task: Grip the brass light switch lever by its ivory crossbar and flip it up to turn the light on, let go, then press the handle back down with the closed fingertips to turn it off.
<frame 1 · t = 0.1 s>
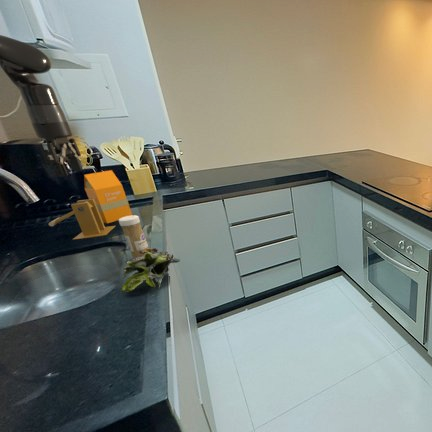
hand: (70, 173, 95), 24 cm above the counter, tool pointing down, fingers open, 8 cm apart
switch lever: (71, 213, 102), point 9 cm above the counter, hinge at -25.0°
passion flower: (156, 284, 78), on the counter
orange juice: (116, 220, 120), on the counter
sprinkles bottle: (142, 258, 91), on the counter
wooden slotted stand: (96, 235, 107), on the counter
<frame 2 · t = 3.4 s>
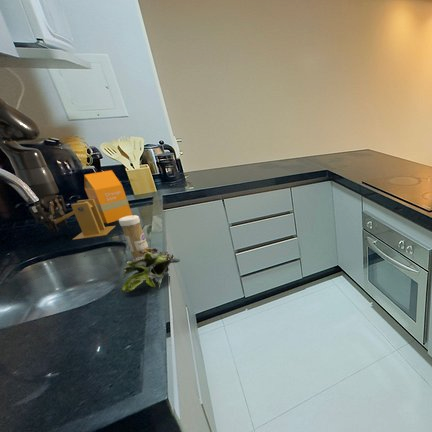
hand: (58, 228, 102), 4 cm above the counter, tool pointing down, fingers closed on switch lever, 5 cm apart
switch lever: (71, 213, 102), point 9 cm above the counter, hinge at -25.1°, touching gripper
everything else where it was.
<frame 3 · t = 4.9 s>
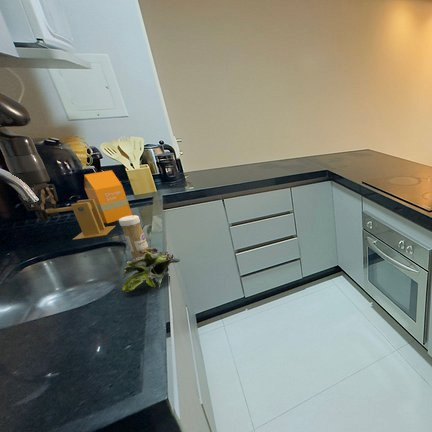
hand: (49, 217, 100), 8 cm above the counter, tool pointing down, fingers closed on switch lever, 5 cm apart
switch lever: (67, 208, 101), point 11 cm above the counter, hinge at -1.7°, touching gripper
everything else where it was.
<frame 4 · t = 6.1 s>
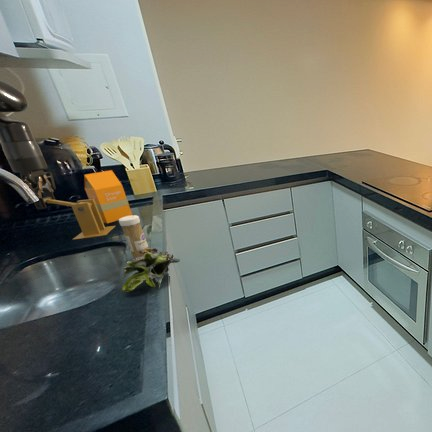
hand: (47, 206, 99), 13 cm above the counter, tool pointing down, fingers closed on switch lever, 5 cm apart
switch lever: (66, 203, 101), point 13 cm above the counter, hinge at 21.5°, touching gripper
everything else where it was.
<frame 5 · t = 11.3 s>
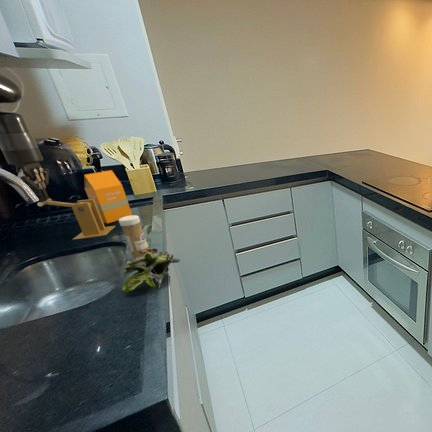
hand: (44, 200, 98), 15 cm above the counter, tool pointing down, fingers closed
switch lever: (66, 204, 101), point 12 cm above the counter, hinge at 17.3°, touching gripper
everything else where it was.
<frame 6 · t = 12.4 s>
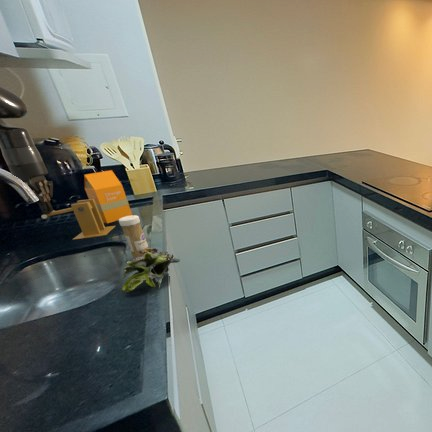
hand: (48, 212, 100), 10 cm above the counter, tool pointing down, fingers closed
switch lever: (68, 210, 102), point 10 cm above the counter, hinge at -7.6°, touching gripper
everything else where it was.
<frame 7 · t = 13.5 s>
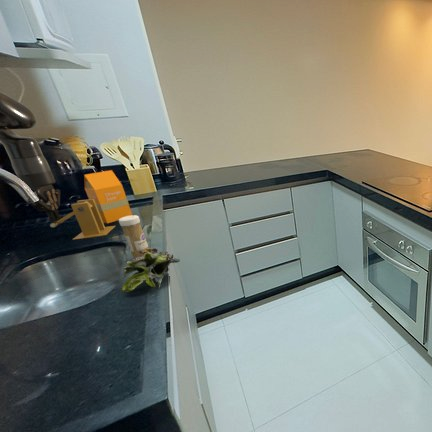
hand: (55, 220, 101), 7 cm above the counter, tool pointing down, fingers closed
switch lever: (71, 214, 102), point 9 cm above the counter, hinge at -28.0°, touching gripper
everything else where it was.
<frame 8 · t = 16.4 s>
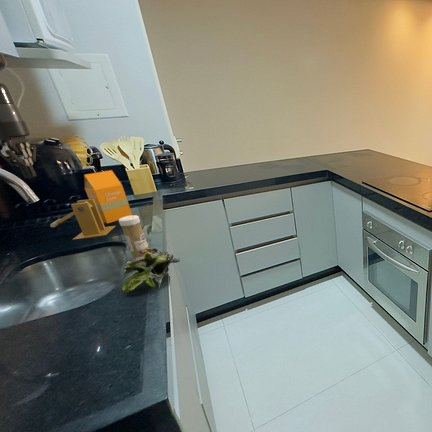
hand: (30, 177, 93), 23 cm above the counter, tool pointing down, fingers closed
switch lever: (71, 214, 102), point 9 cm above the counter, hinge at -28.1°
everything else where it was.
at the end: switch lever reached +22° during the clip, -28° at the end; switch lever at -28° (first picture: -25°) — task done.
